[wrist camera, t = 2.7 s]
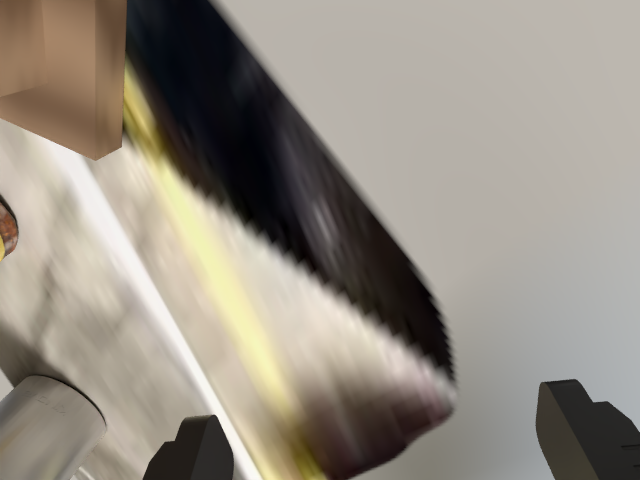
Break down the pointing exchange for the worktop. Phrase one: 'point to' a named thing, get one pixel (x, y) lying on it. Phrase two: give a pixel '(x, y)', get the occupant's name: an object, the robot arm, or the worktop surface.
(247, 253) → the worktop surface
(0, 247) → the sauce bottle
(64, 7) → the stand
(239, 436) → the worktop surface
